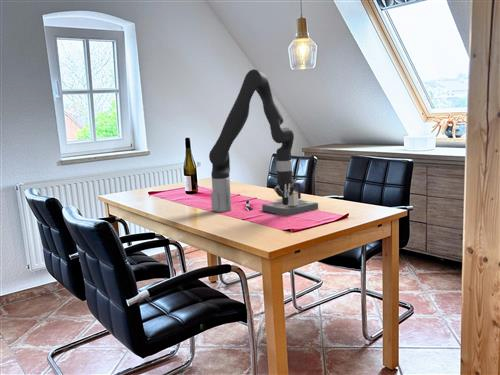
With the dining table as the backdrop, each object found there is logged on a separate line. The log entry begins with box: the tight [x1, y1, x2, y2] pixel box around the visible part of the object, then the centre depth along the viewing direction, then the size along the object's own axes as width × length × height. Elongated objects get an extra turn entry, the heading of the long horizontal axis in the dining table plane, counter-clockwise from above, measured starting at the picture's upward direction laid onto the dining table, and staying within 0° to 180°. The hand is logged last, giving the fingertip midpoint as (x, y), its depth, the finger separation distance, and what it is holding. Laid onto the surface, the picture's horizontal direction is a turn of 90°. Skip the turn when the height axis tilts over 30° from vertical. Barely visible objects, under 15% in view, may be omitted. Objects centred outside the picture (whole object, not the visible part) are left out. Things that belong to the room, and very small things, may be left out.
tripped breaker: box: [288, 191, 299, 206], centre depth 239 cm, size 3×4×7 cm
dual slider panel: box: [261, 199, 319, 217], centre depth 246 cm, size 21×19×3 cm
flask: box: [291, 178, 302, 200], centre depth 275 cm, size 9×3×11 cm, turn 65°
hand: (285, 204), depth 236 cm, fingers closed
